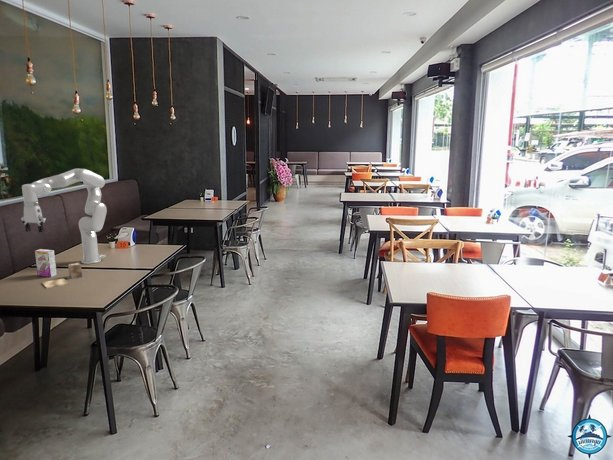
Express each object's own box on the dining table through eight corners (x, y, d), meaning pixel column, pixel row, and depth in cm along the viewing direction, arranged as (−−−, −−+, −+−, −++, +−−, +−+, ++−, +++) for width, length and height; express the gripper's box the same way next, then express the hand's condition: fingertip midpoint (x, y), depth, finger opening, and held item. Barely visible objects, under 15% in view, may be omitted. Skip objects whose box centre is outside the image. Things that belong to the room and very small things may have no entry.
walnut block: (79, 274, 300) (78, 262, 298) (82, 277, 295) (80, 264, 294) (69, 276, 296) (68, 264, 295) (71, 278, 292) (70, 266, 290)
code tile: (81, 274, 302) (81, 273, 302) (85, 277, 295) (85, 277, 295) (66, 276, 296) (66, 276, 296) (69, 280, 290) (69, 279, 290)
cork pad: (63, 279, 291) (63, 278, 291) (68, 284, 282) (68, 282, 281) (42, 283, 283) (41, 282, 283) (46, 288, 274) (46, 287, 274)
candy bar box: (37, 276, 299) (34, 250, 295) (43, 273, 303) (40, 248, 300) (50, 277, 295) (47, 251, 292) (57, 275, 300) (54, 250, 296)
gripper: (47, 203, 293) (51, 231, 296) (24, 203, 297) (28, 229, 301) (37, 205, 285) (41, 233, 289) (14, 204, 290) (18, 232, 293)
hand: (34, 231), depth 295 cm, fingers open, 9 cm apart
